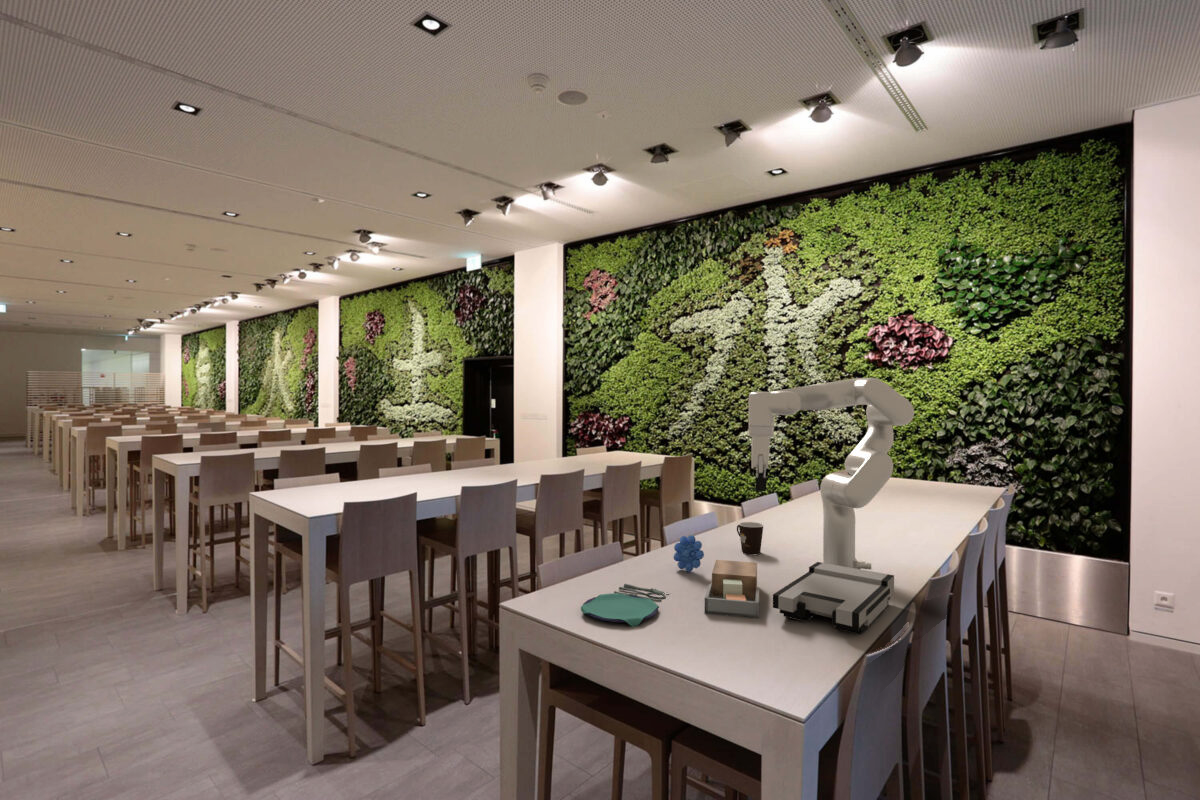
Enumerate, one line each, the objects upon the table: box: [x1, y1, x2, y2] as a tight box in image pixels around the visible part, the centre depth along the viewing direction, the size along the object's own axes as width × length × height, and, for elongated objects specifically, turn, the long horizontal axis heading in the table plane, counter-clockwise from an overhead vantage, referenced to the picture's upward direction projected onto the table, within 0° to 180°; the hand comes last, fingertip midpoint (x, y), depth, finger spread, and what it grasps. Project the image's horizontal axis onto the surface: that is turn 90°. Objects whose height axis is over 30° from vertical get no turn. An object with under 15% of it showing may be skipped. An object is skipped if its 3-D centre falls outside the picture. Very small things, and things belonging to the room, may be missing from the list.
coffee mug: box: [736, 521, 764, 555], centre depth 219 cm, size 12×9×10 cm
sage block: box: [723, 579, 742, 599], centre depth 166 cm, size 5×5×4 cm
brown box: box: [711, 559, 758, 599], centre depth 175 cm, size 12×14×7 cm
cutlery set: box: [580, 583, 669, 627], centre depth 164 cm, size 20×30×2 cm, turn 152°
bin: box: [704, 583, 760, 619], centre depth 162 cm, size 14×12×4 cm
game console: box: [772, 561, 895, 635], centre depth 159 cm, size 21×32×8 cm, turn 141°
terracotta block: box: [726, 594, 746, 601], centre depth 160 cm, size 5×5×2 cm
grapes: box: [673, 534, 705, 573], centre depth 195 cm, size 12×7×12 cm, turn 45°
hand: (760, 490), depth 188 cm, fingers closed
